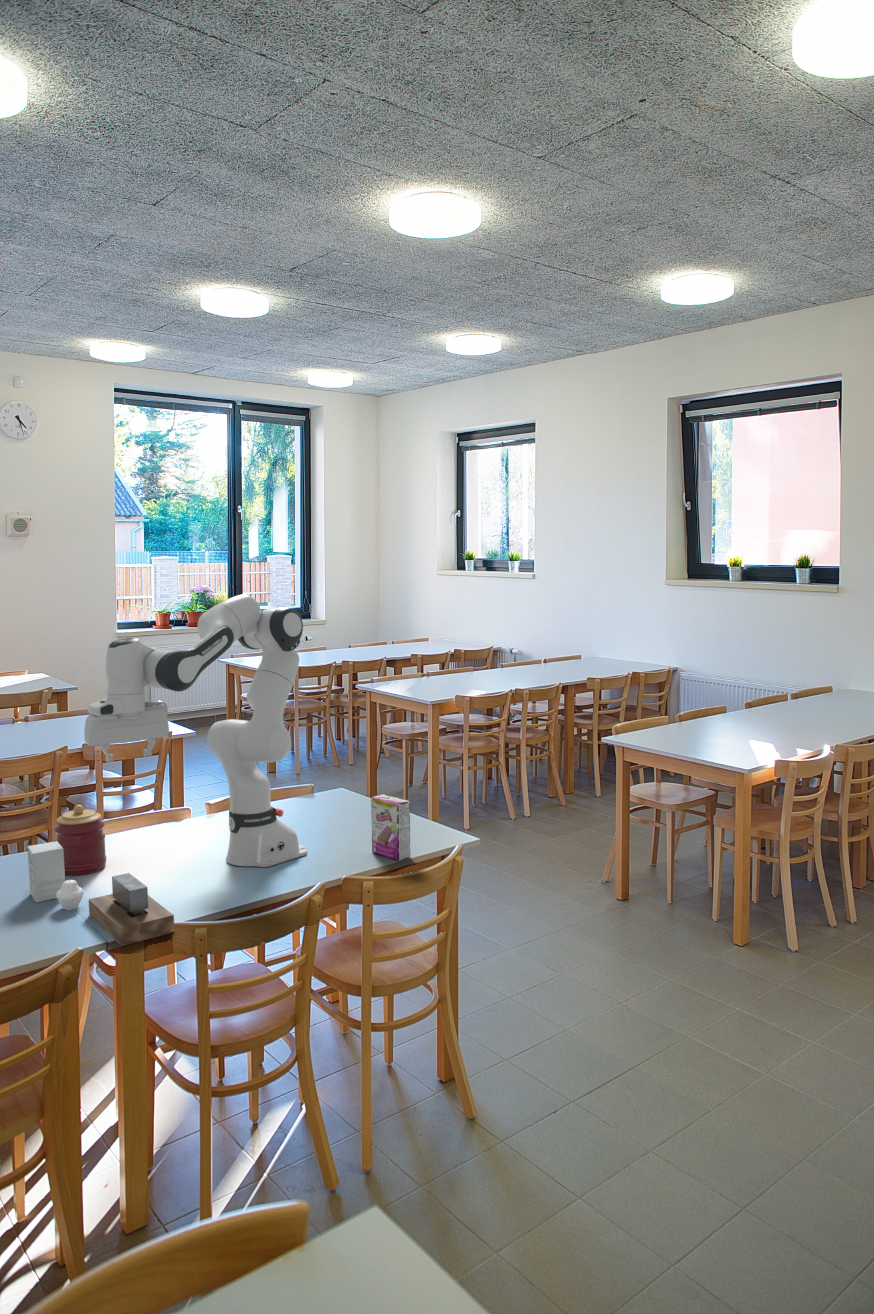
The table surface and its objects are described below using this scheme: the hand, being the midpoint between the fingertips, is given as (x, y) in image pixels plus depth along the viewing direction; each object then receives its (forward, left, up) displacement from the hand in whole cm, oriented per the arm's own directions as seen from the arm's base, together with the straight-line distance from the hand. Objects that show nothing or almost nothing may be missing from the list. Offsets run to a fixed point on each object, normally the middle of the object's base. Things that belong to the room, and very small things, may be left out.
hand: (128, 759), depth 230 cm
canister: (+5, -27, -34) cm, 44 cm away
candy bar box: (-67, +17, -34) cm, 77 cm away
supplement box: (+18, -11, -34) cm, 40 cm away
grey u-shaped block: (+8, +20, -34) cm, 40 cm away
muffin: (+16, +1, -34) cm, 38 cm away
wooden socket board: (+8, +20, -34) cm, 40 cm away
